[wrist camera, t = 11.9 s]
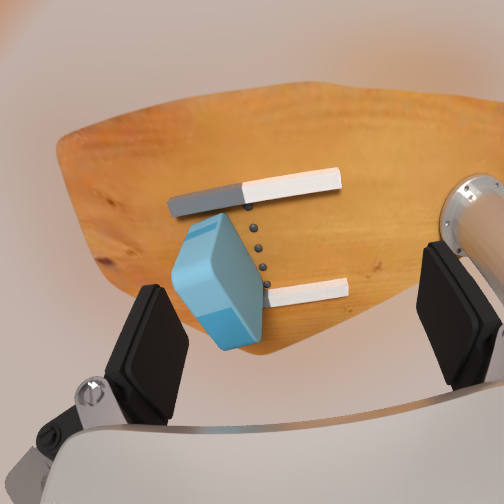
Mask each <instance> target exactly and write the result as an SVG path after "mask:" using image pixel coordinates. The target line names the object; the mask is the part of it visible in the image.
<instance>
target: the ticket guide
mask: <svg viewBox="0 0 504 504" xmlns="http://www.w3.org/2000/svg"><path fill="white" fill-rule="evenodd" d="M340 188H342V185H341V176H340V171H339V169H338V168H329V169H322V170H316V171H309V172H303V173H296V174H290V175H284V176H278V177H272V178H266V179H261V180H255V181H250V182H244V183H239V184H234V185H229V186H223V187H218V188H213V189H209V190H204V191H199V192H194V193H190V194H185V195H180V196H176V197H171V198H170V199H169V201H168V202H167V204H168V207H169V209H170V212H171V215H172V218H173V217H178V216H183V215H188V214H193V213H198V212H203V211H208V210H214V209H219V208H224V207H230V206H235V205H241V204H244V208H245V209H246V210H251V209H252V202H258V201H263V200H269V199H275V198H281V197H287V196H294V195H300V194H306V193H313V192H319V191H326V190H333V189H340ZM249 229H250V231H252V232H256V231H257V229H258V227H257V225H255V224H251V225H250V227H249ZM254 249H255V251H256V252H261V251H262V246H261V245H256V246H255V248H254ZM259 269H260V270H262V271H264V270H266V269H267V266H266V265H265V264H260V265H259ZM263 286H264V287H265V288H269V287H270V286H271V283H270V282H268V281H266V282H264V284H263ZM343 296H349V295H348V282H347V279H346V278H343V279H336V280H330V281H324V282H317V283H311V284H304V285H297V286H290V287H283V288H276V289H269V290H263V307H262V308H268V307H276V306H283V305H291V304H298V303H305V302H311V301H318V300H325V299H331V298H337V297H343Z"/></svg>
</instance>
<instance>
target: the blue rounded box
mask: <svg viewBox="0 0 504 504" xmlns="http://www.w3.org/2000/svg"><path fill="white" fill-rule="evenodd" d="M171 279H172V284H173V286H174V289H175V290H176V292H177V293H178V295H179V296H180V297H181V299H182V300H183V301H184V303H185V304H186V305H187V307H188V308H189V309H190V311H191V312H192V313H193V315H194V316H195V317H196V319H197V320H198V321H199V323H200V324H201V325H202V326H203V328H204V329H205V330H206V332H207V333H208V334H209V335H210V337H211V338H212V339H213V340H214V342H215V343H216V344H217V345H218V347H219V348H220V349H221V350H223V351H226V350H230V349H235V348H239V347H243V346H247V345H251V344H255V343H258V342H260V341H261V337H262V307H263V283H262V279H261V276H260V274H259V272H258V270H257V268H256V266H255V265H254V263H253V261H252V259H251V257H250V255H249V254H248V252H247V250H246V248H245V246H244V244H243V243H242V241H241V239H240V237H239V235H238V233H237V232H236V230H235V228H234V226H233V224H232V223H231V221H230V219H229V217H228V216H227V215H226V214H225V213H220V214H217V215H215V216H213V217H210V218H208V219H205V220H203V221H201V222H198V223H196V224H194V225H192V226H191V227H190V229H189V231H188V234H187V236H186V238H185V241H184V243H183V245H182V248H181V250H180V253H179V255H178V257H177V260H176V262H175V265H174V267H173V270H172V273H171Z"/></svg>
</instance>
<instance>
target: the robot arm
mask: <svg viewBox="0 0 504 504" xmlns="http://www.w3.org/2000/svg"><path fill="white" fill-rule="evenodd" d="M440 234H441V238H442V241H436V242H430V243H428V246H427V247H426V248H424V250H423V259H422V268H421V276H420V283H419V290H418V297H417V303H416V309H417V313H418V316H419V318H420V320H421V322H422V325H423V327H424V329H425V332H426V334H427V336H428V339H429V341H430V343H431V346H432V348H433V351H434V353H435V356H436V358H437V361H438V363H439V366H440V368H441V371H442V373H443V376H444V379H445V381H446V383H447V385H451V387H452V389H453V391H452V392H449V393H445V394H442V395H438V396H434V397H431V398H427V399H423V400H419V401H415V402H411V403H407V404H403V405H398V406H394V407H389V408H384V409H380V410H374V411H369V412H364V413H358V414H352V415H346V416H340V417H334V418H326V419H320V420H310V421H302V422H292V423H281V424H268V425H250V426H219V427H218V426H217V427H200V426H199V427H198V426H196V427H195V426H192V427H191V426H167V423H168V419H171V418H172V416H173V412H174V408H175V403H176V399H177V394H178V390H179V385H180V381H181V376H182V372H183V368H184V364H185V359H186V355H187V350H188V347H189V339H188V336H187V334H186V332H185V330H184V328H183V326H182V324H181V322H180V320H179V318H178V316H177V314H176V312H175V310H174V308H173V305H172V303H171V301H170V299H169V297H168V295H167V293H166V291H165V289H164V288H163V287H160V286H159V285H158V284H152V285H145V286H142V288H141V289H140V292H139V294H138V296H137V298H136V300H135V302H134V304H133V307H132V309H131V311H130V313H129V315H128V318H127V320H126V322H125V324H124V326H123V329H122V331H121V333H120V336H119V338H118V340H117V342H116V345H115V347H114V350H113V352H112V355H111V357H110V359H109V361H108V364H107V366H106V369H105V375H104V378H103V377H98V376H95V377H91V378H89V379H86V380H85V381H84V382H82V383H81V385H80V386H79V387H78V389H77V391H76V393H75V397H74V398H75V405H74V406H72V407H71V408H69V409H68V410H66V411H65V412H63V413H62V414H61V415H59V416H58V417H56V418H55V419H53V420H52V421H50V422H49V423H47V424H46V425H45V426H43V427H42V428H41V429H40V431H39V432H38V435H37V438H36V446H37V447H36V448H34V447H33V446H32V447H31V448H30V449H29V451H28V452H27V453H26V454H25V455H24V456H23V457H22V459H21V460H20V461H19V462H18V463H17V464H16V466H15V467H14V468H13V469H12V470H11V471H10V472H9V473H8V475H7V477H6V480H5V488H6V491H7V493H8V495H9V496H10V498H11V500H12V501H13V503H14V504H504V324H503V323H502V322H501V320H500V318H499V317H498V315H497V314H496V312H495V310H494V309H493V307H492V306H491V304H490V303H489V301H488V299H487V298H486V296H485V295H484V293H483V292H482V290H481V289H480V287H479V286H478V285H477V283H476V282H475V280H474V279H473V277H472V276H471V275H470V274H469V273H468V272H467V270H466V269H465V267H464V266H463V265H462V263H461V262H460V261H459V259H458V258H457V257H456V255H459V256H468V257H469V258H470V260H471V261H472V262H473V263H474V265H475V266H476V267H477V269H478V270H479V271H480V273H481V274H482V276H483V277H484V278H485V280H486V281H487V282H488V284H489V285H490V287H491V288H492V289H493V291H494V292H495V294H496V295H497V297H498V298H499V300H500V301H501V303H502V304H503V306H504V185H503V184H502V183H501V182H500V181H499V180H497V179H496V178H495V177H493V176H491V175H488V174H476V175H473V176H470V177H468V178H466V179H464V180H463V181H461V182H460V183H459V184H458V185H457V186H456V187H455V188H454V189H453V190H452V191H451V193H450V194H449V196H448V198H447V199H446V201H445V204H444V206H443V208H442V212H441V215H440ZM455 254H456V255H455Z"/></svg>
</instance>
